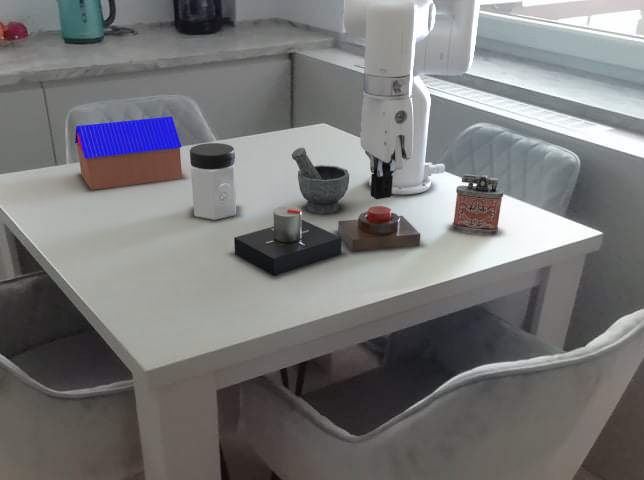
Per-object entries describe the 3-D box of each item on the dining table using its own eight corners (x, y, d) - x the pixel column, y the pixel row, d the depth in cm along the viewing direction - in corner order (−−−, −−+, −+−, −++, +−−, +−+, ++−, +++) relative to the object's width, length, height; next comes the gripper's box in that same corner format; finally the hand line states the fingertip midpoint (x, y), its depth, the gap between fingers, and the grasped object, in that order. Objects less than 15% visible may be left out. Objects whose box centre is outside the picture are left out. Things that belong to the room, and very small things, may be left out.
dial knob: (269, 240, 123) (269, 212, 121) (280, 230, 127) (280, 203, 124) (295, 244, 122) (295, 215, 119) (305, 234, 125) (306, 206, 123)
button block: (401, 227, 136) (403, 205, 134) (419, 245, 129) (421, 223, 127) (337, 232, 134) (338, 211, 132) (352, 252, 126) (353, 229, 124)
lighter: (498, 229, 135) (506, 174, 130) (496, 236, 132) (505, 180, 127) (453, 224, 137) (459, 170, 132) (450, 230, 135) (457, 175, 129)
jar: (204, 223, 138) (200, 158, 132) (184, 210, 144) (179, 147, 138) (246, 213, 142) (244, 150, 136) (225, 201, 148) (222, 140, 142)
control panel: (300, 234, 133) (300, 217, 131) (341, 254, 126) (341, 236, 124) (234, 254, 126) (233, 236, 124) (273, 276, 118) (273, 257, 117)
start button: (386, 214, 131) (386, 205, 131) (393, 222, 128) (394, 213, 127) (364, 216, 131) (364, 206, 130) (371, 224, 127) (372, 214, 126)
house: (184, 178, 161) (179, 122, 155) (89, 190, 154) (81, 133, 148) (169, 163, 170) (164, 110, 164) (79, 174, 163) (71, 119, 157)
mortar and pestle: (336, 197, 150) (337, 136, 144) (356, 212, 143) (359, 149, 136) (283, 204, 147) (282, 142, 140) (301, 220, 139) (301, 156, 133)
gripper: (433, 92, 113) (422, 208, 123) (385, 73, 125) (379, 180, 135) (389, 97, 111) (382, 215, 121) (345, 77, 123) (341, 186, 133)
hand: (380, 196), depth 128 cm, fingers closed
